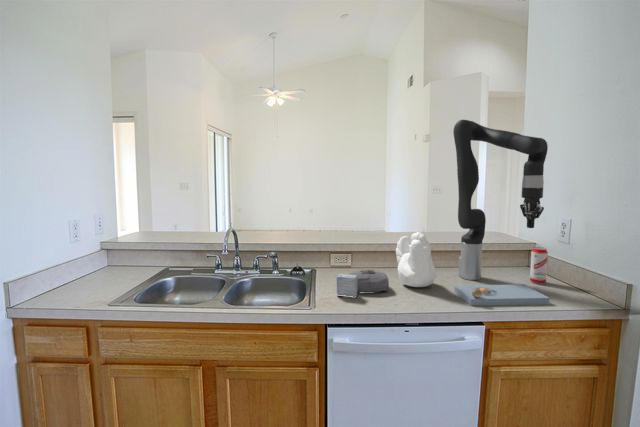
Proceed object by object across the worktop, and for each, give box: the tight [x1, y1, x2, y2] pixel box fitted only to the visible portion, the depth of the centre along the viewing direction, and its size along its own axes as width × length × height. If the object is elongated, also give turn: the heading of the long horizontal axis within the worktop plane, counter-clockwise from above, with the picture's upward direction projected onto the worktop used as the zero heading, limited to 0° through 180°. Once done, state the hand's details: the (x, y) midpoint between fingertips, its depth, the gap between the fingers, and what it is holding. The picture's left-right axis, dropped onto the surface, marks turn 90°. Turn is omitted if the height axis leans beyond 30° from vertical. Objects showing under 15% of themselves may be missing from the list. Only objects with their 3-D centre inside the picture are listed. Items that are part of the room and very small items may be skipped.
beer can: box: [529, 246, 549, 285], centre depth 155 cm, size 6×6×16 cm
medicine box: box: [336, 273, 358, 297], centre depth 142 cm, size 8×4×9 cm, turn 71°
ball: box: [480, 288, 488, 294], centre depth 138 cm, size 4×4×4 cm
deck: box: [453, 283, 550, 306], centre depth 138 cm, size 30×16×2 cm, turn 90°
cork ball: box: [472, 289, 482, 298], centre depth 131 cm, size 4×4×4 cm
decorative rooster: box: [395, 231, 438, 288], centre depth 157 cm, size 25×16×25 cm, turn 6°
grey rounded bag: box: [347, 269, 390, 293], centre depth 151 cm, size 15×8×20 cm
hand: (530, 227), depth 143 cm, fingers closed
